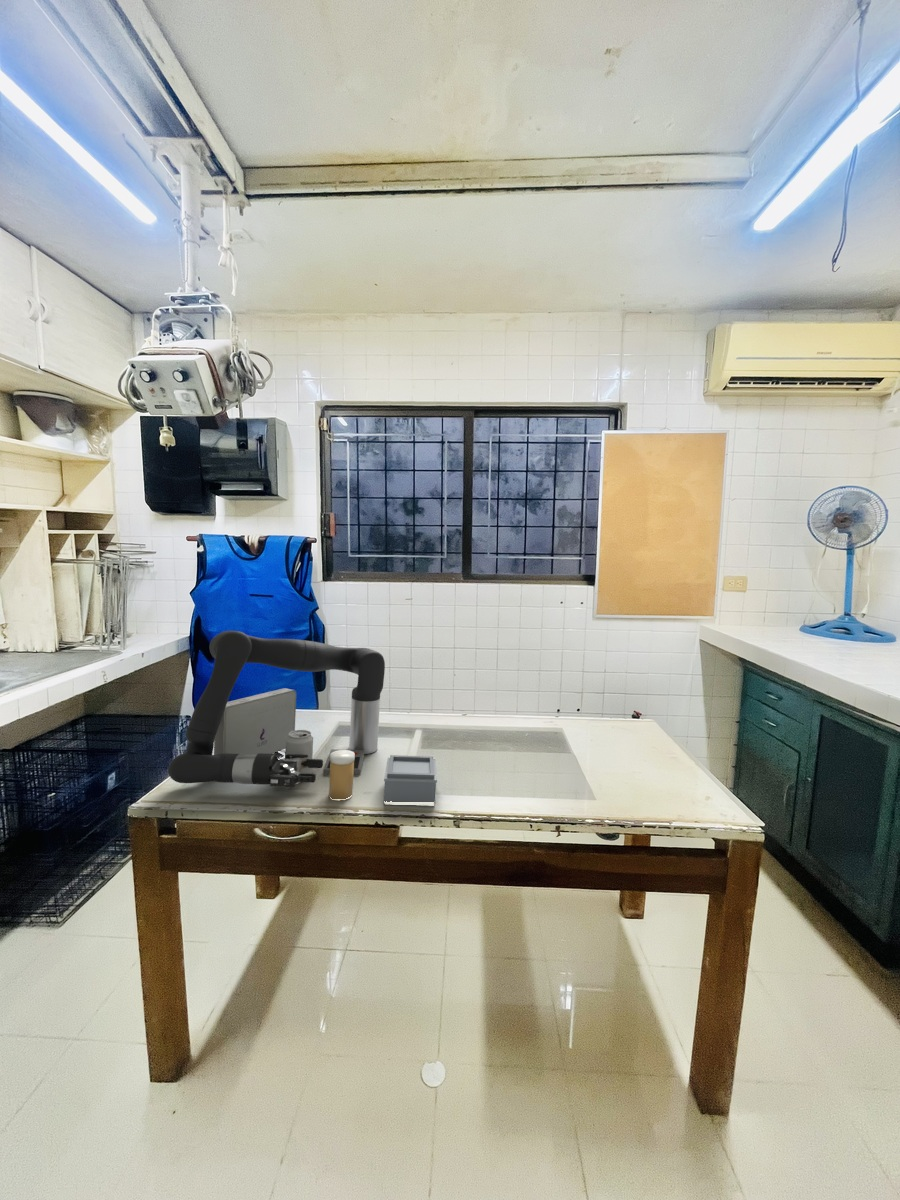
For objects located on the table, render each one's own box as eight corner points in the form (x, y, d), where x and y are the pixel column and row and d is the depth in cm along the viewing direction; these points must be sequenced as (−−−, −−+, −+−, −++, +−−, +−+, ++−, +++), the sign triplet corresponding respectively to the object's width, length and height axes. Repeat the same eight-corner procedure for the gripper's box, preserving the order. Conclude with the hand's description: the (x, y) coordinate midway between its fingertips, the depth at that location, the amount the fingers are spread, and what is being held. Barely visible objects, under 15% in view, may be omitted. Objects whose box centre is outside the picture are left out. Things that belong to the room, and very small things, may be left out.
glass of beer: (330, 789, 124) (332, 749, 124) (354, 790, 125) (356, 750, 124) (326, 801, 118) (328, 758, 118) (350, 801, 119) (352, 759, 118)
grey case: (386, 781, 131) (388, 754, 130) (433, 783, 132) (435, 755, 131) (382, 805, 118) (384, 774, 117) (435, 807, 118) (437, 776, 118)
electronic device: (364, 749, 149) (360, 768, 134) (364, 756, 149) (360, 777, 134) (331, 748, 148) (323, 768, 133) (330, 756, 148) (323, 776, 133)
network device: (227, 781, 125) (229, 709, 124) (206, 773, 129) (209, 703, 128) (299, 752, 148) (301, 690, 147) (279, 746, 152) (282, 685, 151)
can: (303, 781, 128) (305, 738, 127) (278, 777, 130) (280, 735, 129) (316, 770, 135) (318, 730, 135) (293, 767, 137) (294, 727, 136)
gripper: (245, 765, 112) (313, 767, 113) (265, 744, 127) (325, 746, 128) (244, 796, 113) (312, 797, 114) (264, 771, 127) (324, 772, 128)
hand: (319, 770), depth 121 cm, fingers open, 8 cm apart
